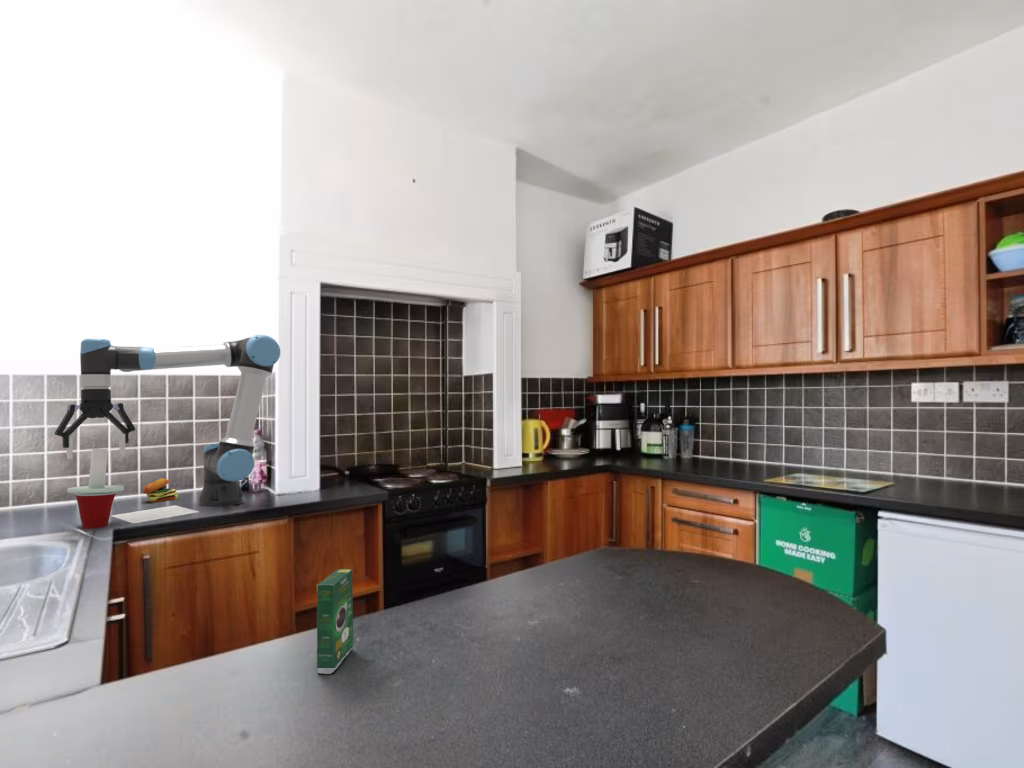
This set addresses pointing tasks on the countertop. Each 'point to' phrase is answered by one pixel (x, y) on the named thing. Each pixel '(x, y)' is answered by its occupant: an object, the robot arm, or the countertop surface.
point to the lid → (97, 476)
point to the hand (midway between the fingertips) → (97, 456)
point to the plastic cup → (95, 509)
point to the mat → (154, 514)
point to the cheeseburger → (160, 491)
